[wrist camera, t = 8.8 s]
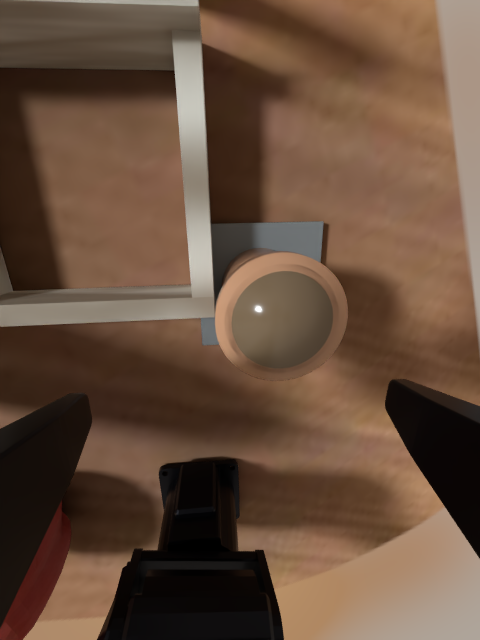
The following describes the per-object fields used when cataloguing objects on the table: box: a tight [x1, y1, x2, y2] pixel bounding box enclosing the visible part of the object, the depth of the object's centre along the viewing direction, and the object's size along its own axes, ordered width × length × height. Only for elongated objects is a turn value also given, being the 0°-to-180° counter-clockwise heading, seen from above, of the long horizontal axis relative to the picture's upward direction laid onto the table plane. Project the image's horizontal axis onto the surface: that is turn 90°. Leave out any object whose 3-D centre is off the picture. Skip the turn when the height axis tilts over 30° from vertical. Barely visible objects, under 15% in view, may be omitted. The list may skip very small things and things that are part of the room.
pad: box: [201, 222, 323, 345], centre depth 19 cm, size 8×8×1 cm
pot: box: [215, 248, 348, 381], centre depth 16 cm, size 6×6×7 cm
